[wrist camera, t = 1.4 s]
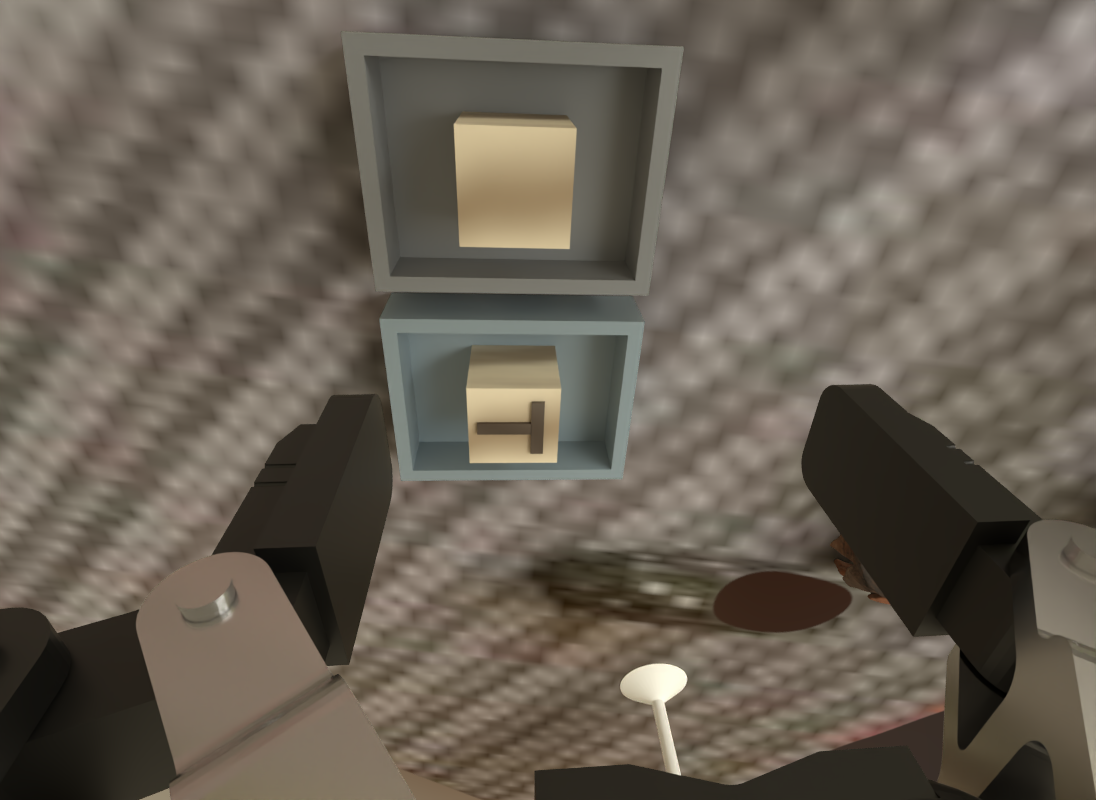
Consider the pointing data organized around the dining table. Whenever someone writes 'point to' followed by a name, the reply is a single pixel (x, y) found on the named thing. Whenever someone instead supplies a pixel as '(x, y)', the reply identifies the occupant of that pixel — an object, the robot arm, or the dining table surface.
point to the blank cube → (514, 179)
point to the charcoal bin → (526, 88)
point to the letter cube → (513, 404)
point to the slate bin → (501, 319)
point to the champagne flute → (657, 700)
